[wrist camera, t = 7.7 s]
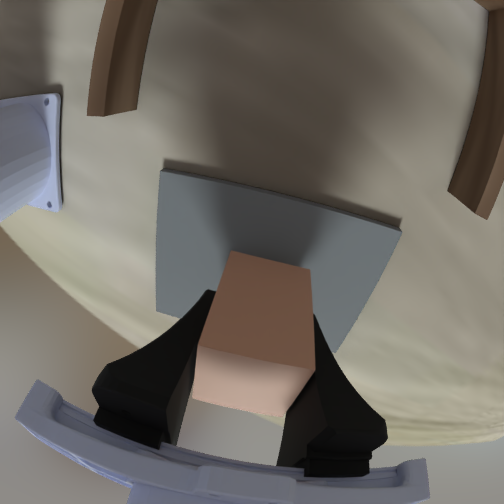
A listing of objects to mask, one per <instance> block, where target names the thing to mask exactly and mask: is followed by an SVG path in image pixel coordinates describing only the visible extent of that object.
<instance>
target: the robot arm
mask: <svg viewBox="0 0 504 504" xmlns="http://www.w3.org/2000/svg"><path fill="white" fill-rule="evenodd" d="M48 100H49V103H48ZM60 104H61V97H60V95H59V94H58V93H48V94H38V95H30V96H22V97H15V98H9V99H3V100H0V222H1V221H3V220H4V219H6V218H7V217H9V216H10V215H11V214H13V213H14V212H16V211H17V210H19V209H20V208H22V207H23V206H25V205H30V206H34V207H37V208H41V209H45V210H49V211H52V212H58V211H60V210H61V209H62V198H61V186H60V167H59V122H60ZM215 294H216V291H213V290H209V289H207V290H205V292H204V293H203V295H202V296H201V297H200V299H199V300H198V301H197V302H196V303H195V305H194V306H193V307H192V308H191V309H190V310H189V311H188V312H187V313H186V314H185V315H184V316H183V317H182V318H181V319H180V320H179V321H178V322H177V323H175V324H174V325H173V326H172V327H171V328H170V329H169V330H167V331H166V332H165V333H163V334H162V335H161V336H159V337H158V338H157V339H155V340H154V341H152V342H151V343H149V344H148V345H146V346H144V347H143V348H141V349H139V350H137V351H135V352H133V353H132V354H130V355H128V356H125V357H123V358H121V359H119V360H116V361H114V362H111V363H109V364H107V365H106V366H105V368H104V369H103V370H102V372H101V373H100V374H99V376H98V377H97V380H96V381H95V383H94V385H93V388H92V393H93V395H94V397H95V399H96V401H97V403H98V405H99V409H98V410H97V413H96V415H93V414H91V413H88V412H87V411H84V410H82V409H80V408H78V407H76V406H74V405H73V404H71V403H69V402H67V401H65V400H63V398H62V396H61V394H60V393H59V392H57V391H56V390H55V389H53V388H52V387H50V386H48V385H47V384H45V383H43V382H41V381H40V380H36V381H35V383H34V385H33V386H32V388H31V390H30V391H29V393H28V395H27V396H26V398H25V400H24V402H23V403H22V405H21V407H20V409H19V410H18V412H17V414H16V416H15V419H16V420H17V421H18V422H19V423H20V424H21V425H22V426H23V427H25V428H26V429H27V430H28V431H29V432H30V433H31V434H32V435H34V436H35V437H36V438H37V439H39V440H40V441H42V442H43V443H45V444H46V445H48V446H50V447H51V448H53V449H54V450H56V451H58V452H60V453H61V454H63V455H64V456H66V457H68V458H70V459H71V460H73V461H75V462H77V463H79V464H80V465H82V466H84V467H86V468H88V469H90V470H92V471H94V472H96V473H98V474H100V475H102V476H104V477H106V478H108V479H111V480H112V481H115V482H117V483H119V484H122V485H124V486H126V487H129V488H131V492H130V495H129V498H128V501H127V504H417V503H419V502H422V501H425V500H428V499H429V498H430V492H429V482H428V473H427V466H426V459H425V458H422V459H415V460H409V461H405V462H403V463H401V464H399V465H398V466H395V467H384V468H371V469H369V460H370V459H371V458H372V451H373V450H375V449H376V448H378V447H380V446H381V445H383V444H384V443H385V442H386V441H387V439H388V435H387V427H386V422H385V419H383V418H382V417H381V416H380V415H379V414H378V413H377V412H376V411H375V410H373V409H372V408H371V407H370V406H369V405H368V404H367V402H366V401H365V400H364V399H363V398H362V397H361V396H360V395H359V394H358V392H357V391H356V390H355V389H354V387H353V386H352V385H351V383H350V382H349V381H348V379H347V378H346V376H345V375H344V373H343V372H342V370H341V368H340V367H339V365H338V363H337V362H336V360H335V358H334V356H333V354H332V352H331V350H330V348H329V346H328V344H327V342H326V340H325V337H324V335H323V333H322V330H321V328H320V325H319V323H318V321H317V318H316V316H315V314H313V321H314V343H315V371H314V373H313V374H312V376H311V377H310V379H309V380H308V382H307V383H306V385H305V386H304V388H303V389H302V390H301V392H300V393H299V395H298V396H297V397H296V399H295V400H294V402H293V403H292V404H291V406H290V407H289V409H288V410H287V411H286V418H285V424H284V430H283V436H282V441H281V447H280V452H279V456H278V460H277V465H276V466H271V465H263V464H256V463H249V462H243V461H238V460H232V459H227V458H222V457H217V456H213V455H208V454H204V453H200V452H196V451H192V450H188V449H185V448H181V447H177V446H176V445H177V441H178V437H179V432H180V429H181V425H182V421H183V417H184V413H185V410H186V406H187V402H188V398H189V395H190V392H191V388H192V385H193V381H194V377H195V366H196V357H197V347H198V343H199V340H200V337H201V334H202V331H203V328H204V325H205V322H206V319H207V317H208V314H209V311H210V308H211V305H212V302H213V299H214V297H215Z"/></svg>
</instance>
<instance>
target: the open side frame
mask: <svg viewBox="0 0 504 504" xmlns="http://www.w3.org/2000/svg"><path fill="white" fill-rule="evenodd" d="M157 1H158V0H106V4H105V7H104V11H103V15H102V19H101V23H100V28H99V32H98V37H97V42H96V47H95V53H94V58H93V65H92V72H91V79H90V87H89V96H88V107H87V116H102V117H104V116H108V115H113V114H117V113H122V112H127V111H132V110H136V109H137V101H138V93H139V86H140V80H141V74H142V68H143V62H144V57H145V52H146V47H147V42H148V37H149V33H150V28H151V24H152V20H153V16H154V12H155V8H156V4H157ZM474 1H476V2H477V3H479V4H480V5H481V6H483V7H484V8H485V9H487V10H488V11H489V21H488V33H487V43H486V51H485V58H484V64H483V70H482V76H481V81H480V86H479V91H478V95H477V100H476V104H475V108H474V112H473V116H472V120H471V123H470V127H469V130H468V134H467V137H466V140H465V144H464V147H463V150H462V153H461V156H460V159H459V162H458V164H457V167H456V170H455V173H454V175H453V178H452V181H451V183H450V186H449V188H448V192H449V193H451V194H452V195H453V196H454V197H456V198H457V199H458V200H459V201H461V202H462V203H463V204H464V205H465V206H467V207H468V208H469V209H470V210H471V211H472V212H474V213H475V214H477V215H479V216H480V217H482V218H484V219H486V220H487V219H488V217H489V215H490V213H491V210H492V208H493V206H494V203H495V201H496V199H497V196H498V194H499V191H500V188H501V186H502V183H503V180H504V0H474Z"/></svg>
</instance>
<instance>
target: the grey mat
mask: <svg viewBox="0 0 504 504" xmlns="http://www.w3.org/2000/svg"><path fill="white" fill-rule="evenodd" d="M401 234H402V231H401V229H400V228H398V227H395V226H392V225H389V224H386V223H382V222H379V221H376V220H373V219H370V218H366V217H363V216H360V215H357V214H353V213H350V212H346V211H343V210H340V209H336V208H333V207H329V206H326V205H322V204H318V203H315V202H311V201H307V200H304V199H300V198H296V197H292V196H288V195H284V194H280V193H276V192H272V191H268V190H264V189H260V188H256V187H252V186H247V185H243V184H238V183H234V182H229V181H225V180H220V179H216V178H211V177H206V176H201V175H196V174H191V173H186V172H181V171H175V170H170V169H163V170H161V171H160V180H159V193H158V209H157V231H156V311H157V312H160V313H164V314H167V315H171V316H174V317H177V318H182V317H183V316H184V315H185V314H186V313H187V312H188V311H189V310H190V309H191V308H192V307H193V306H194V305H195V303H196V302H197V301H198V300H199V299H200V297H201V296H202V295H203V293H204V292H205V290H207V289H209V290H213V291H217V288H218V285H219V282H220V280H221V277H222V274H223V271H224V268H225V266H226V263H227V260H228V257H229V254H230V252H231V251H236V252H240V253H244V254H248V255H252V256H256V257H260V258H264V259H269V260H273V261H277V262H281V263H285V264H289V265H293V266H298V267H302V268H306V269H310V273H311V287H312V303H313V314H315V316H316V318H317V321H318V323H319V325H320V328H321V330H322V333H323V335H324V337H325V340H326V342H327V344H328V346H329V348H330V350H331V352H334V353H336V352H337V350H338V348H339V347H340V345H341V344H342V342H343V341H344V339H345V337H346V336H347V334H348V333H349V331H350V329H351V328H352V326H353V325H354V323H355V321H356V320H357V318H358V316H359V314H360V313H361V311H362V309H363V308H364V306H365V304H366V302H367V301H368V299H369V297H370V295H371V293H372V292H373V290H374V288H375V286H376V284H377V282H378V281H379V279H380V277H381V275H382V273H383V271H384V269H385V267H386V265H387V263H388V261H389V259H390V257H391V255H392V253H393V251H394V249H395V247H396V245H397V243H398V241H399V239H400V236H401Z"/></svg>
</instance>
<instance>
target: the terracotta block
mask: <svg viewBox="0 0 504 504" xmlns="http://www.w3.org/2000/svg"><path fill="white" fill-rule="evenodd" d="M314 371H315V343H314V321H313V303H312V287H311V273H310V269H306V268H302V267H298V266H293V265H289V264H285V263H281V262H277V261H273V260H269V259H264V258H260V257H256V256H252V255H248V254H244V253H240V252H236V251H231V252H230V254H229V257H228V260H227V263H226V266H225V268H224V271H223V274H222V277H221V280H220V282H219V285H218V288H217V291H216V294H215V297H214V299H213V302H212V305H211V308H210V311H209V314H208V317H207V319H206V322H205V325H204V328H203V331H202V334H201V337H200V340H199V343H198V347H197V357H196V366H195V377H194V387H193V388H194V389H193V399H197V400H201V401H204V402H208V403H212V404H216V405H221V406H225V407H229V408H234V409H239V410H244V411H249V412H254V413H260V414H265V415H271V416H278V417H283V415H284V414H285V413H286V411H287V410H288V409H289V407H290V406H291V404H292V403H293V402H294V400H295V399H296V397H297V396H298V395H299V393H300V392H301V390H302V389H303V388H304V386H305V385H306V383H307V382H308V380H309V379H310V377H311V376H312V374H313V373H314Z"/></svg>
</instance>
